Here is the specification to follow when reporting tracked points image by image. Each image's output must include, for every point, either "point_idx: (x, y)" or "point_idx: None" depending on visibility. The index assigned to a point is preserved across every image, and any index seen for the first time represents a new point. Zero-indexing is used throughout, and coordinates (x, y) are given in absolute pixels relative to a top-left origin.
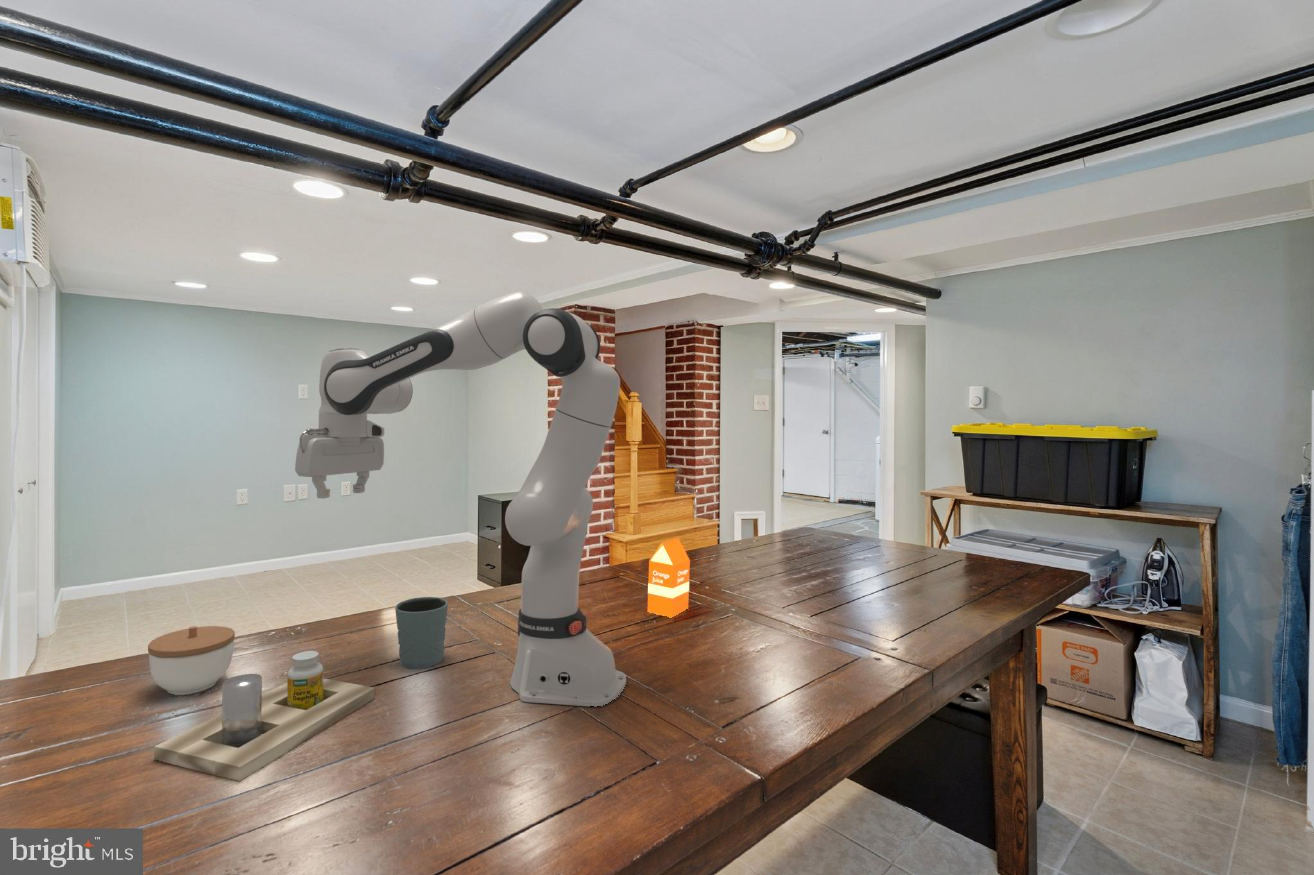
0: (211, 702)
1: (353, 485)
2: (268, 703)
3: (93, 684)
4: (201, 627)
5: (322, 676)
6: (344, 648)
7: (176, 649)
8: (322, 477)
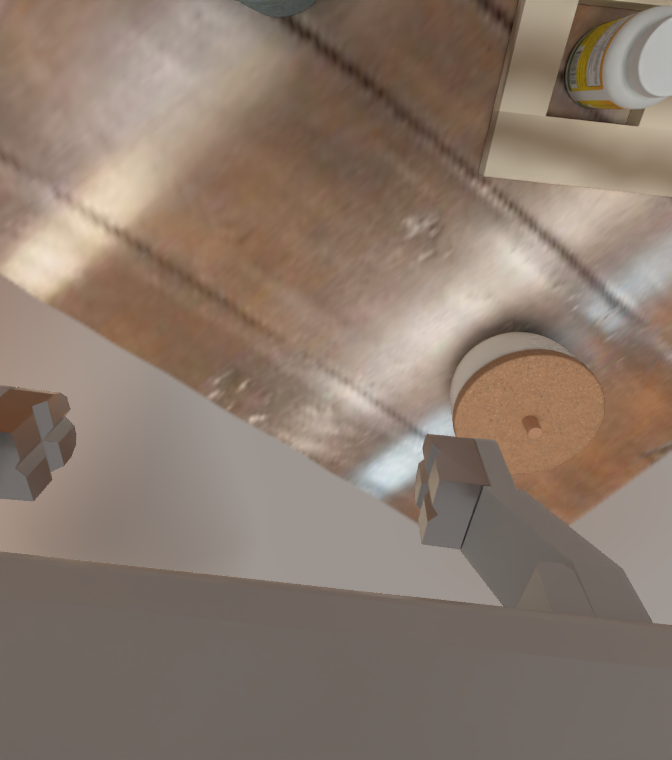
0: (564, 289)
1: (36, 491)
2: (638, 136)
3: None
4: None
5: (637, 12)
6: (276, 226)
7: (600, 397)
8: (616, 615)
